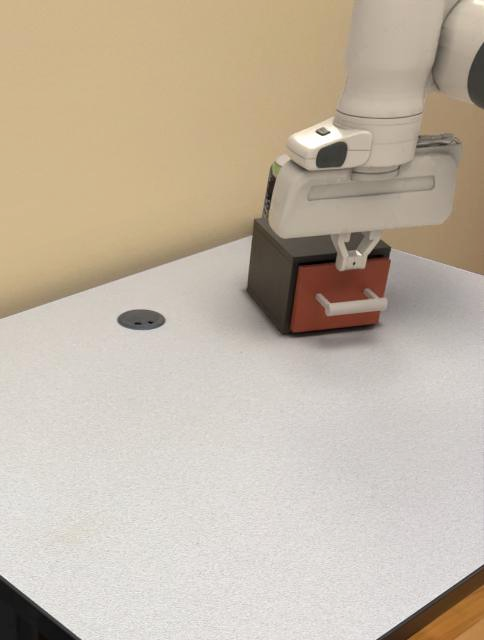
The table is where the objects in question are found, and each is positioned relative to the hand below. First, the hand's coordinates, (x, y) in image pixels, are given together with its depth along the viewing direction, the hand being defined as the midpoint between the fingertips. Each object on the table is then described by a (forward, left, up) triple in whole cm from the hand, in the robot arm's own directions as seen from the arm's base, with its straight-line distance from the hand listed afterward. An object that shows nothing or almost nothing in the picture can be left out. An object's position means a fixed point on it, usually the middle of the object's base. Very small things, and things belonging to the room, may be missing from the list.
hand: (349, 268), depth 104 cm
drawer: (0, -6, -8) cm, 10 cm away
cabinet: (0, -10, -9) cm, 13 cm away
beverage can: (-5, -35, -9) cm, 37 cm away
